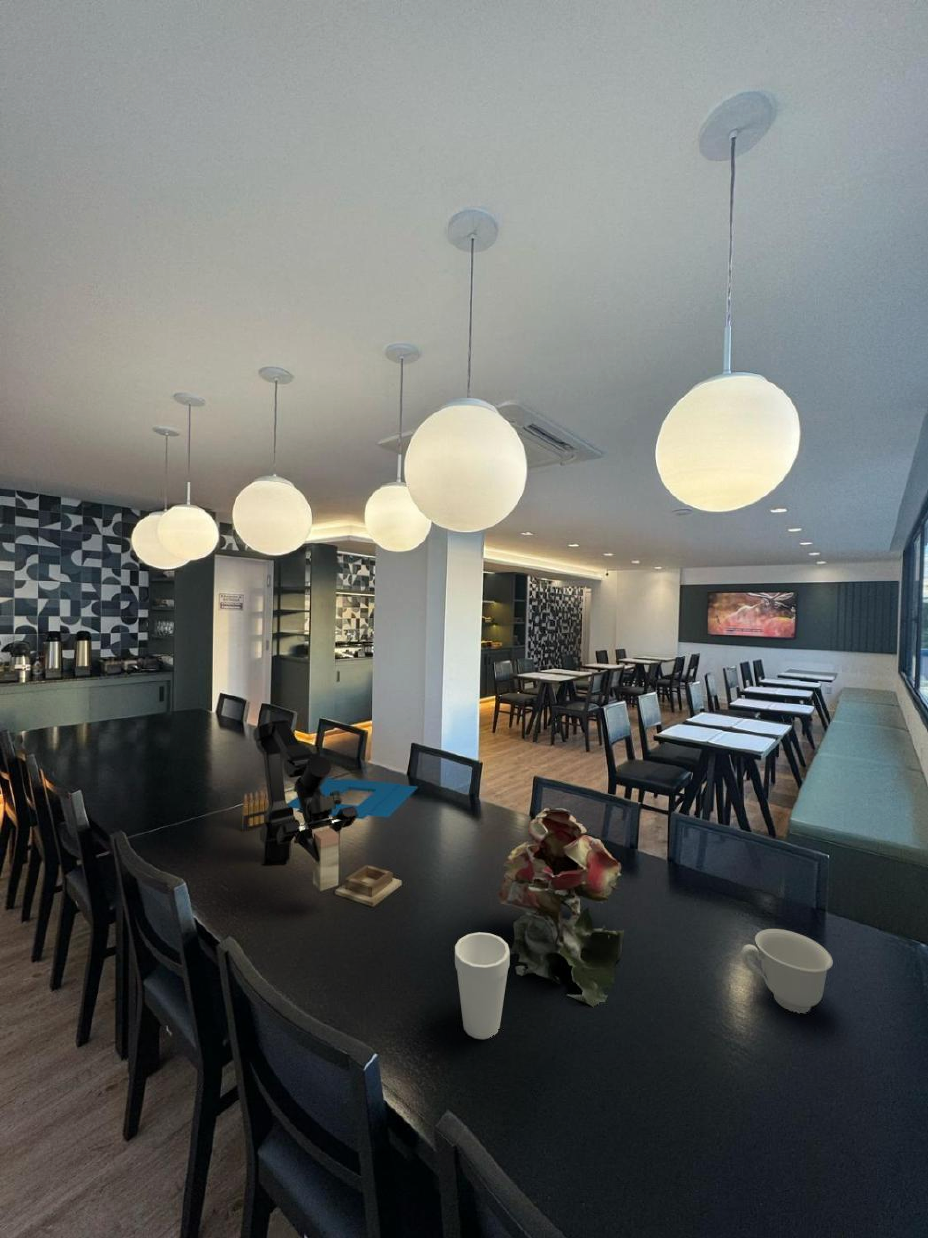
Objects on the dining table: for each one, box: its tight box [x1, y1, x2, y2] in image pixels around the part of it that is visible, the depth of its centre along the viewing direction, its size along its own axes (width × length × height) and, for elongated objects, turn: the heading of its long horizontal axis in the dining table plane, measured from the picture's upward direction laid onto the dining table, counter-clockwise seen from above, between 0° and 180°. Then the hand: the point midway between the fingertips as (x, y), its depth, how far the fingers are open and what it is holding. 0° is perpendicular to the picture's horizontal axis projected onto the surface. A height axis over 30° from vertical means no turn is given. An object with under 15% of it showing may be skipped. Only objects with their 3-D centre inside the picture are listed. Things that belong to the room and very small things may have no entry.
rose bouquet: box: [498, 807, 625, 1008], centre depth 109 cm, size 26×29×30 cm
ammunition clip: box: [240, 788, 269, 832], centre depth 171 cm, size 11×2×12 cm, turn 131°
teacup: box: [740, 928, 834, 1014], centre depth 95 cm, size 12×15×10 cm
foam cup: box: [454, 931, 511, 1040], centre depth 89 cm, size 10×9×13 cm
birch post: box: [312, 828, 340, 892], centre depth 121 cm, size 4×4×12 cm
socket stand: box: [334, 864, 403, 908], centre depth 132 cm, size 12×12×4 cm
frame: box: [286, 778, 419, 820], centre depth 199 cm, size 42×36×2 cm
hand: (328, 858), depth 120 cm, fingers closed on birch post, 4 cm apart
